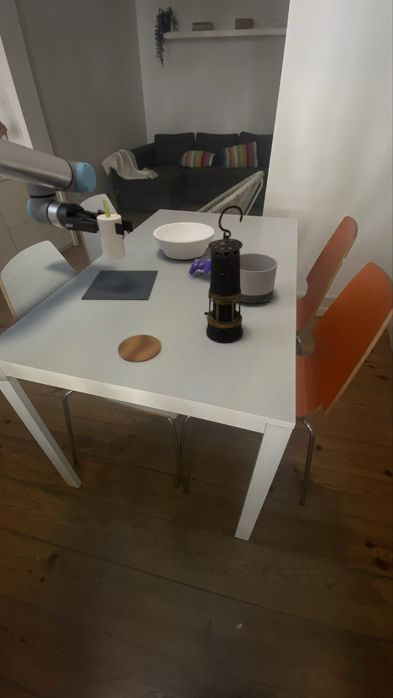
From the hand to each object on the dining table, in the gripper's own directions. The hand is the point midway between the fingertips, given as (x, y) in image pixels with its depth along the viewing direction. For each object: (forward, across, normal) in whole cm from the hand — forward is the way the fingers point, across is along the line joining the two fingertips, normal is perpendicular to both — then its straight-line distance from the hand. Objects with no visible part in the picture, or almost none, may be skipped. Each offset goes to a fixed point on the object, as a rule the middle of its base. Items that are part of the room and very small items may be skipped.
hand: (127, 228), depth 84 cm
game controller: (+11, -21, -20) cm, 31 cm away
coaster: (+19, +20, -20) cm, 34 cm away
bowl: (-6, -34, -20) cm, 40 cm away
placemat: (-8, -2, -20) cm, 21 cm away
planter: (+30, -16, -20) cm, 39 cm away
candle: (-5, +1, -8) cm, 10 cm away
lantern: (+32, +4, -20) cm, 38 cm away
